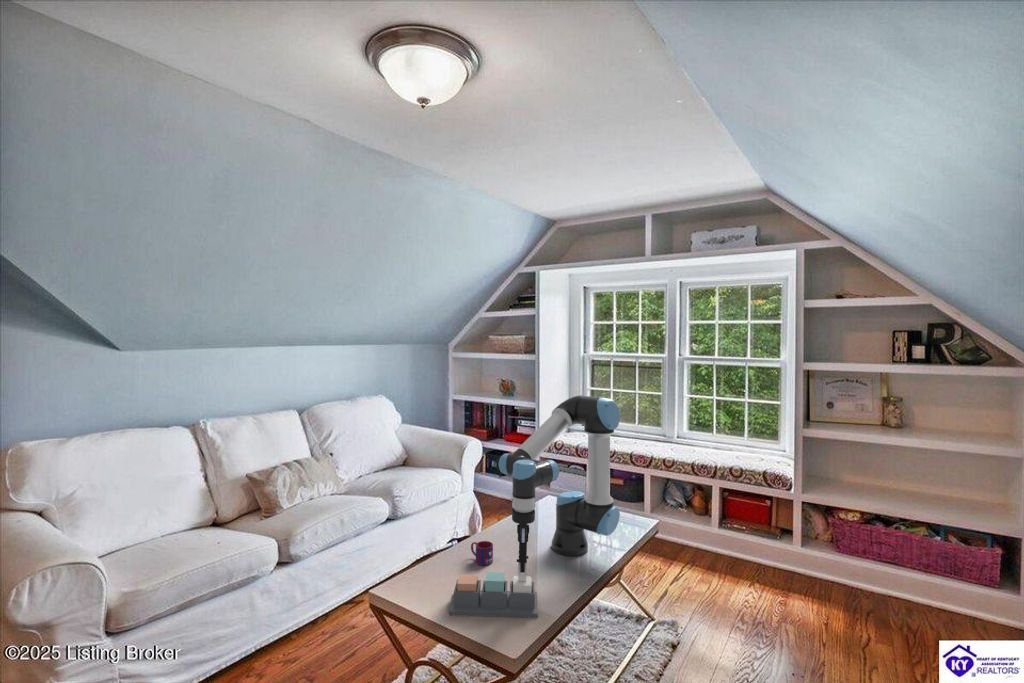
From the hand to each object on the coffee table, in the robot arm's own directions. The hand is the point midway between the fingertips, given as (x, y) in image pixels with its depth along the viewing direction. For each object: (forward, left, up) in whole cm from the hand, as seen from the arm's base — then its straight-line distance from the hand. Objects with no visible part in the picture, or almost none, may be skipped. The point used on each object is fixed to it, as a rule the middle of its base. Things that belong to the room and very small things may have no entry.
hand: (522, 580), depth 158 cm
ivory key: (0, 0, -5) cm, 5 cm away
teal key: (+9, 0, -4) cm, 10 cm away
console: (+9, 0, -9) cm, 12 cm away
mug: (+16, -31, -9) cm, 36 cm away
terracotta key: (+18, 0, -5) cm, 19 cm away
